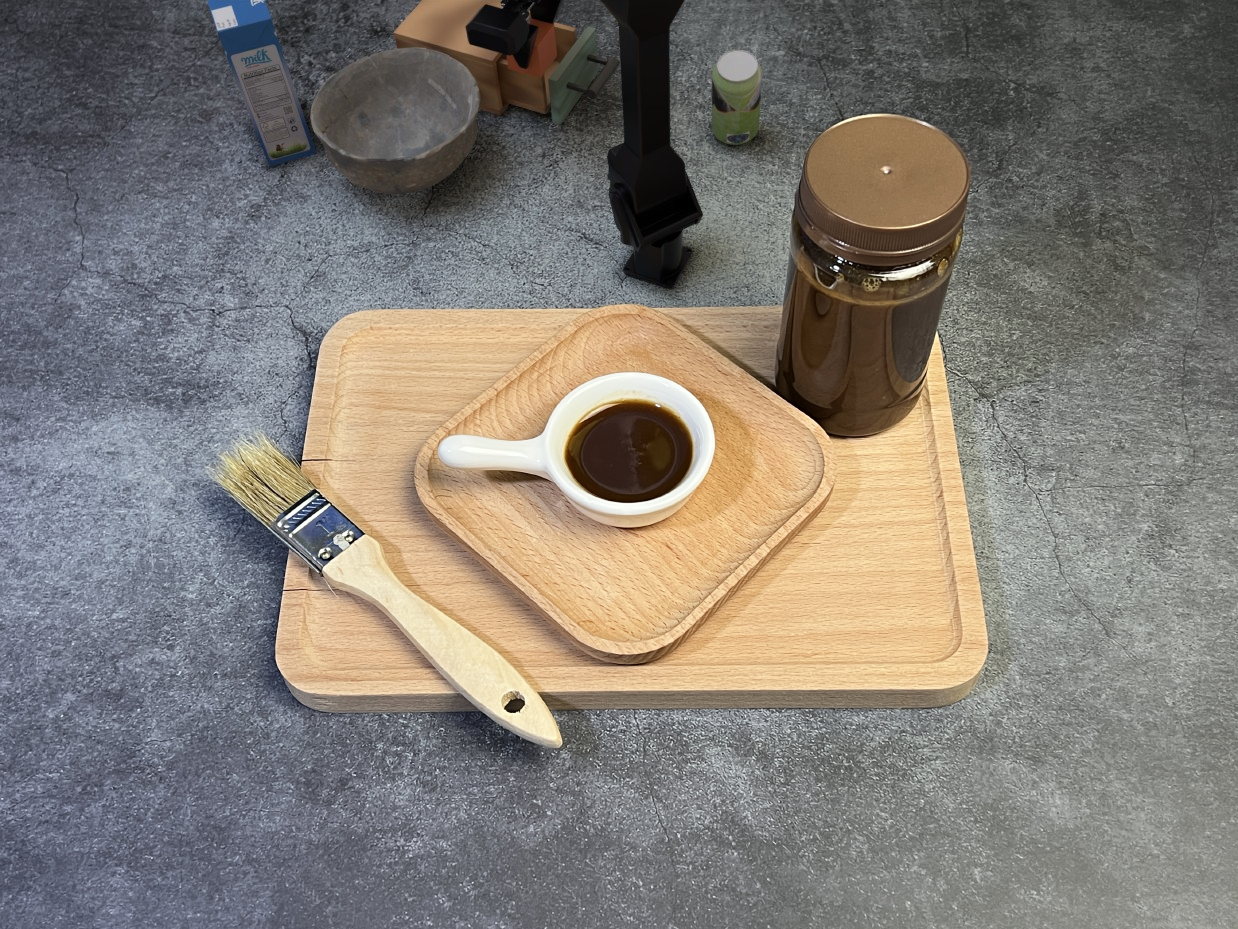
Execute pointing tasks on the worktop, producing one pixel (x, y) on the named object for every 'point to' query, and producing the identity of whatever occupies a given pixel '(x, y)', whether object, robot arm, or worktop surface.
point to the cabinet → (455, 42)
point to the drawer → (559, 75)
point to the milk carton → (263, 78)
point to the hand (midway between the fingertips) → (532, 55)
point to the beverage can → (736, 97)
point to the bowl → (398, 119)
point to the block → (539, 50)
